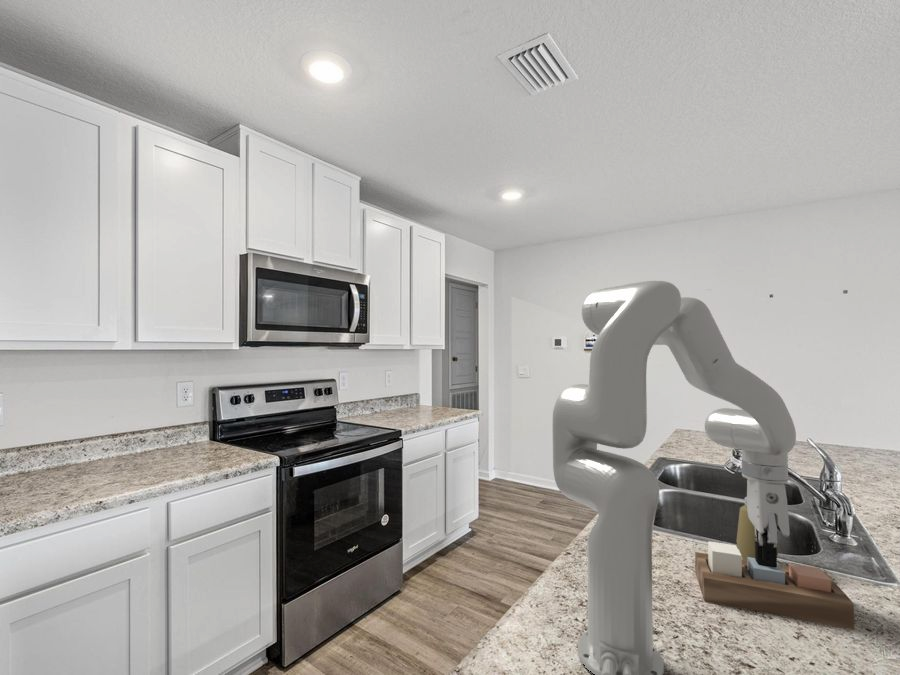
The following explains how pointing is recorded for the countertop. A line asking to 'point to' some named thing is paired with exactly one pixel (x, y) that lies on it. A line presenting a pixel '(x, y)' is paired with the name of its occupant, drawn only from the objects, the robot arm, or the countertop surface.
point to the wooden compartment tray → (775, 596)
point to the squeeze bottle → (746, 534)
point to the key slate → (765, 572)
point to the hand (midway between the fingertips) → (765, 564)
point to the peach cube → (809, 577)
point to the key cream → (724, 559)
